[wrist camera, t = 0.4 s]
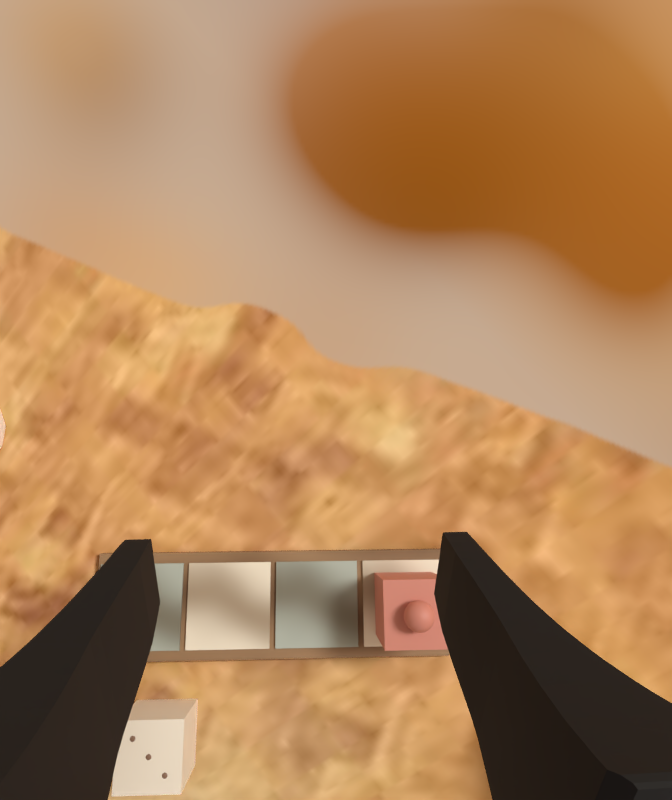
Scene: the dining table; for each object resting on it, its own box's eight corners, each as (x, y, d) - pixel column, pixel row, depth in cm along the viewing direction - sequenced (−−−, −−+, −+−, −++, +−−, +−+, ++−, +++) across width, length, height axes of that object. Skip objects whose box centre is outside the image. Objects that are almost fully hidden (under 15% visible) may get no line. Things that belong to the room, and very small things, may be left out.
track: (447, 653, 38) (449, 656, 37) (94, 660, 37) (89, 663, 36) (441, 548, 39) (444, 549, 39) (102, 553, 39) (98, 553, 38)
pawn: (433, 632, 37) (458, 655, 31) (375, 633, 37) (388, 657, 31) (431, 571, 38) (454, 581, 32) (374, 572, 38) (386, 582, 32)
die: (195, 765, 36) (180, 795, 32) (133, 767, 36) (111, 797, 32) (198, 698, 37) (183, 719, 33) (137, 699, 37) (116, 720, 33)
